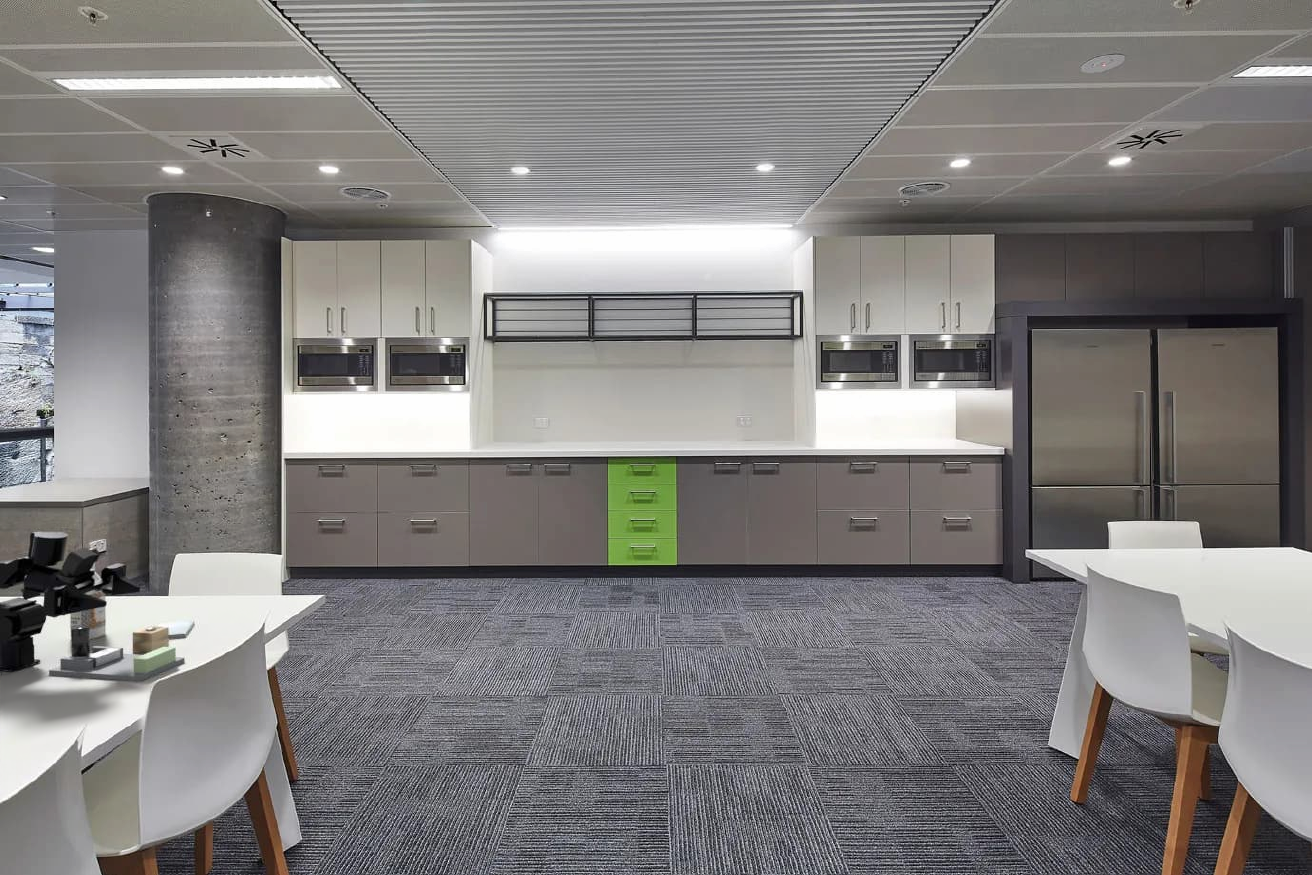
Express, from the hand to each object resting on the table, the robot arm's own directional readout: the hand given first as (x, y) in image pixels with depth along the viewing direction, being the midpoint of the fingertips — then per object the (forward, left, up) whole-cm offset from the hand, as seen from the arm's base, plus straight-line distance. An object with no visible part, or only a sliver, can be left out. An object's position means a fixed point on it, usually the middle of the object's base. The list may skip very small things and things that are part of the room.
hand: (123, 596), depth 158 cm
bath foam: (-28, +19, -17) cm, 38 cm away
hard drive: (-11, +26, -17) cm, 33 cm away
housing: (-5, +13, -17) cm, 22 cm away
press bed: (-2, +1, -16) cm, 17 cm away
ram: (-9, +1, -15) cm, 18 cm away
